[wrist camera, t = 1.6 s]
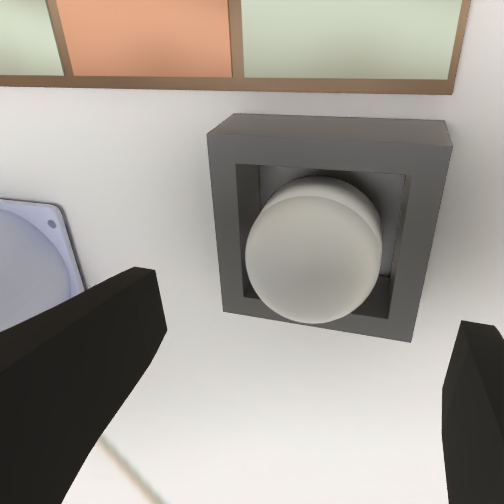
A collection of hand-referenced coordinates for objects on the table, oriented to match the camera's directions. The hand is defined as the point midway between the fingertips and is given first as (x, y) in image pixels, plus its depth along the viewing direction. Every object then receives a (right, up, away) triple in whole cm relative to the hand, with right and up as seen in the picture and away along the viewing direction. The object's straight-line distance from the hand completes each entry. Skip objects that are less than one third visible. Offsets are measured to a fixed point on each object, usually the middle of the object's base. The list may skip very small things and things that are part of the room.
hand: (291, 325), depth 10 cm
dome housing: (+2, +4, +8) cm, 9 cm away
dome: (+2, +3, +7) cm, 8 cm away
